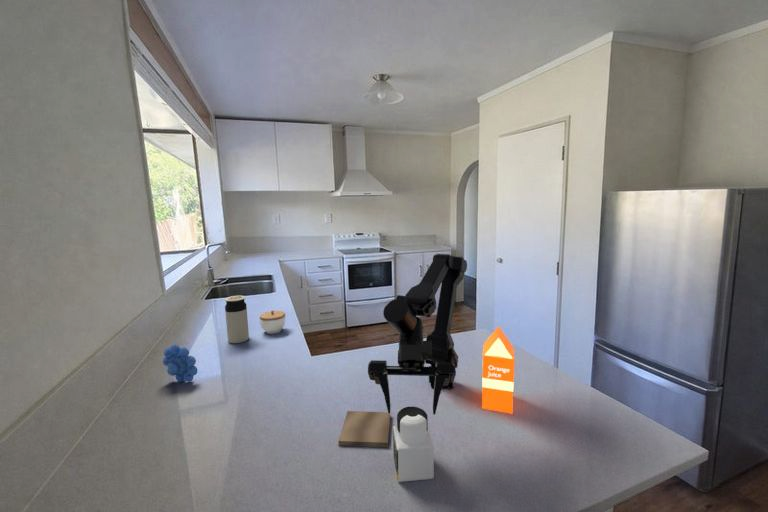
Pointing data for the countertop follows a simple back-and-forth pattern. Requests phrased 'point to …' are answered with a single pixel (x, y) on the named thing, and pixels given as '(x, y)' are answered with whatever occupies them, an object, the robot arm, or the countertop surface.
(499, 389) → the orange juice
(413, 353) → the robot arm
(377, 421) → the walnut board
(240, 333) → the travel mug
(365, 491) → the countertop surface
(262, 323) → the lidded jar
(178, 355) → the grapes
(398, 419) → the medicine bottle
